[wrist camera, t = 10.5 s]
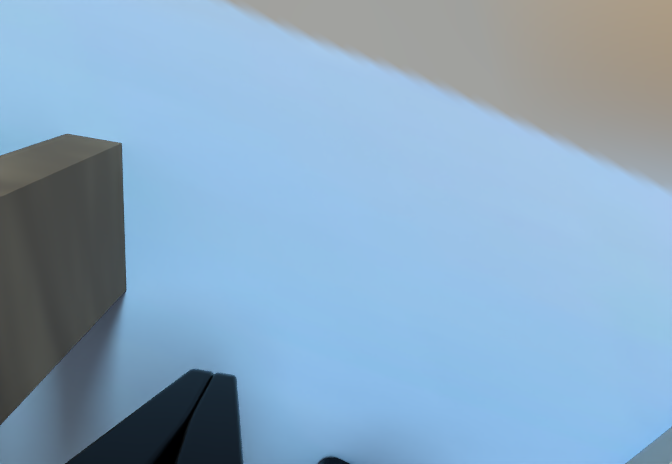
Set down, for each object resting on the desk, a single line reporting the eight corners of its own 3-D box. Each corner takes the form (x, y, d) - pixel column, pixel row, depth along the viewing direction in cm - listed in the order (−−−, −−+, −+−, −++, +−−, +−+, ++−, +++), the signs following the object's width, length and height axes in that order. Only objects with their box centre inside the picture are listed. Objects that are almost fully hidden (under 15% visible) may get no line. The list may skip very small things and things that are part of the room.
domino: (121, 143, 13) (-185, 278, 6) (126, 290, 15) (-98, 529, 8) (66, 133, 13) (-312, 258, 6) (78, 282, 15) (-192, 515, 8)
